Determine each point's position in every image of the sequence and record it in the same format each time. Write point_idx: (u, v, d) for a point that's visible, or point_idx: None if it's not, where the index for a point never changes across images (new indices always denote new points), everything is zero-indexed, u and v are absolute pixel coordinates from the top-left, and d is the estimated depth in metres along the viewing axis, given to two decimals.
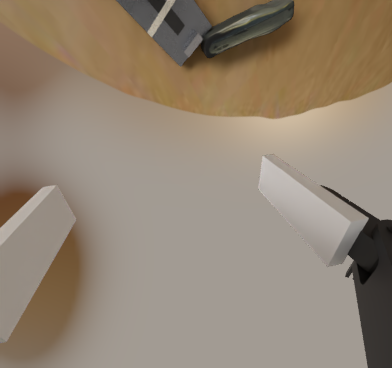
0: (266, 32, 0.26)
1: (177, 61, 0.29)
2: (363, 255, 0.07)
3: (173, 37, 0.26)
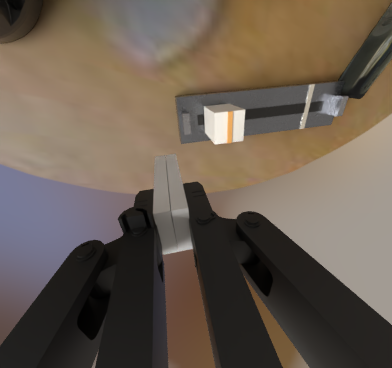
0: None
1: (327, 124, 0.33)
2: (193, 247, 0.08)
3: (318, 114, 0.32)
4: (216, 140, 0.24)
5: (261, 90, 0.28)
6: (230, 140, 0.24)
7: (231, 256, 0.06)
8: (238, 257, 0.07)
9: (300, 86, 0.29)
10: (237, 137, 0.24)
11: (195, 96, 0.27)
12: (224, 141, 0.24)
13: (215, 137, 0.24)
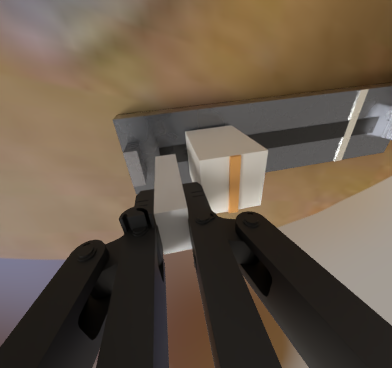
0: None
1: (378, 151, 0.20)
2: (193, 247, 0.08)
3: (366, 138, 0.19)
4: None
5: (274, 102, 0.15)
6: (235, 208, 0.12)
7: (230, 256, 0.06)
8: (237, 257, 0.07)
9: (343, 93, 0.16)
10: (249, 200, 0.12)
11: (151, 116, 0.14)
12: (223, 209, 0.12)
13: None
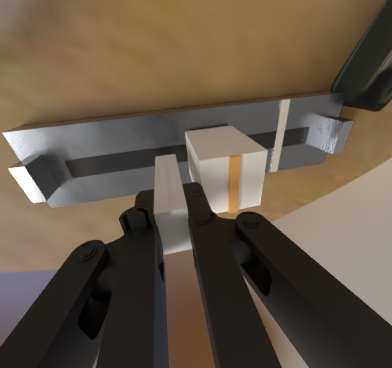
0: None
1: (316, 162, 0.20)
2: (193, 247, 0.08)
3: (300, 148, 0.18)
4: None
5: (186, 113, 0.14)
6: (235, 208, 0.12)
7: (230, 256, 0.06)
8: (237, 257, 0.07)
9: (263, 103, 0.15)
10: (249, 200, 0.12)
11: (47, 128, 0.13)
12: (222, 209, 0.12)
13: None
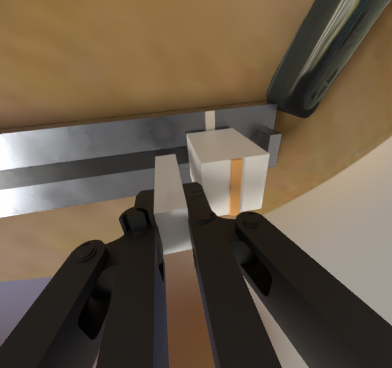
0: None
1: None
2: (193, 247, 0.08)
3: None
4: None
5: (99, 125, 0.14)
6: (236, 210, 0.12)
7: (230, 256, 0.06)
8: (237, 257, 0.07)
9: (185, 115, 0.14)
10: (250, 203, 0.12)
11: None
12: (224, 212, 0.12)
13: None
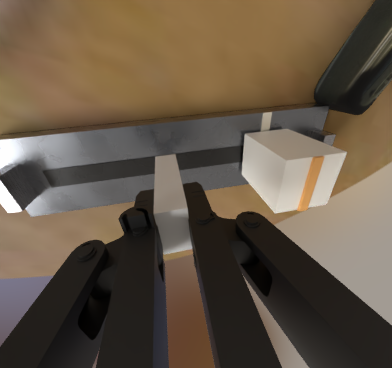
0: None
1: None
2: (193, 247, 0.08)
3: None
4: (280, 206, 0.12)
5: (165, 125, 0.14)
6: (305, 206, 0.12)
7: (231, 256, 0.06)
8: (237, 257, 0.07)
9: (244, 116, 0.15)
10: (318, 200, 0.13)
11: (24, 139, 0.13)
12: (293, 207, 0.12)
13: (278, 202, 0.12)
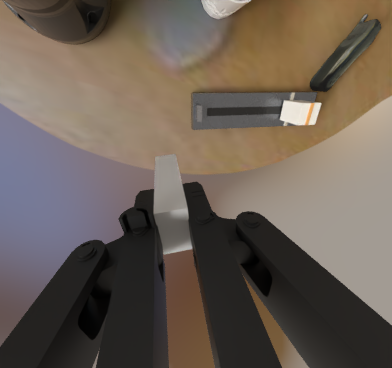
0: (365, 48, 0.34)
1: None
2: (193, 247, 0.08)
3: None
4: (299, 122, 0.35)
5: (255, 93, 0.37)
6: (307, 123, 0.36)
7: (230, 256, 0.06)
8: (237, 257, 0.07)
9: (284, 93, 0.38)
10: (312, 121, 0.36)
11: (207, 93, 0.36)
12: (303, 123, 0.36)
13: (298, 120, 0.35)
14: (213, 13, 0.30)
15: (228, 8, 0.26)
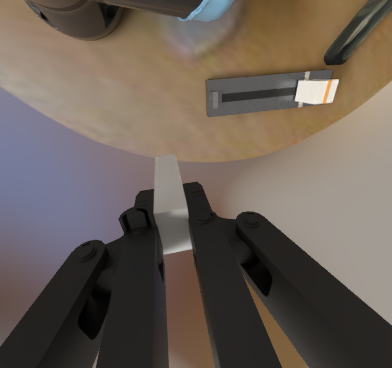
0: (384, 16, 0.33)
1: None
2: (193, 247, 0.08)
3: None
4: (316, 101, 0.35)
5: (270, 75, 0.37)
6: (325, 101, 0.35)
7: (230, 256, 0.06)
8: (237, 257, 0.07)
9: (299, 73, 0.38)
10: (329, 99, 0.35)
11: (221, 79, 0.36)
12: (320, 102, 0.35)
13: (315, 99, 0.35)
14: None
15: None
